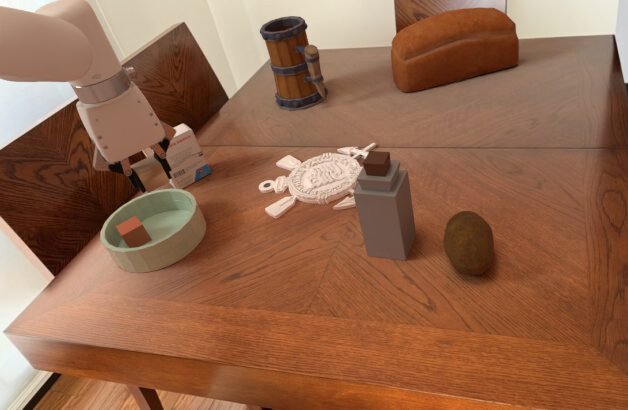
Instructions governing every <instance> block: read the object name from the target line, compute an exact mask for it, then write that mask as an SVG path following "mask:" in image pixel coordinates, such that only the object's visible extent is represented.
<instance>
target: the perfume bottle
mask: <svg viewBox="0 0 628 410" xmlns="http://www.w3.org/2000/svg"><path fill="white" fill-rule="evenodd" d="M362 165H363V166H362V167H363V168H362V170H361V171H360V173H359V175H358V177H357V178H356V180H357V181H358V183H359V184H358V185H357V187H356V188H355V189H354V190H355V191H354V193H353V195H354V199H355V204H356V206H355V207H356V212H357V216H358V220H359V225H360V229H361V235H362V238H363V242H364V246H365V251H366V256H368V257H376V258H381V259H388V260H389V259H391V260H398V261H407V259H408V256H409V253H410V251H411V248H412V245H413V244H414V240H415V238H416V235H417V229H416V219H415V214H414V207H413V201H412V200H413V199H412V192H411V185H410V184H411V183H410V178H409V171H408V169H401V168H400V166H401V160H398V159H397V160H396V159H391V152H390V151H380V150H379V151H378V150H370V151H369V153H368V155H367V157H366V158H365V159H363V161H362ZM353 195H352V196H353Z"/></svg>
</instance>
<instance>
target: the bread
mask: <svg viewBox="0 0 628 410" xmlns="http://www.w3.org/2000/svg"><path fill="white" fill-rule="evenodd" d="M519 59H520V41H519V37H518V33H517V24H516V22H515V21H513V19H511V17H509V16H508V15H507V14H506V13H504V12H503V11H502V10H500V9H498V8H496V7H470V8H457V9H453V10H445V11H444V12H441V13H437V14H434V15H431V16H429V17H426V18H423V19H421V20H419V21H416V22H414V23H412V24H410V25H408V26H406V27H404V28H402V29H401V30H400V31H398V32H397V33H396V34H395V35H394V37H393V38H392V41H391V49H390V63H391V72H392V73H391V74H392V79H393V82H394V84H395V86H396V87H397V88H398V90H400V91H402V92H403V93H411V92H416V91H420V90H425V89H428V88H433V87H437V86H441V85H445V84H448V83H453V82H457V81H460V80H465V79H468V78H472V77H477V76H481V75H484V74H489V73H492V72H496V71H499V70H504V69H508V68H511V67H515V66H517V65H518V63H519V61H520V60H519Z"/></svg>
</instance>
